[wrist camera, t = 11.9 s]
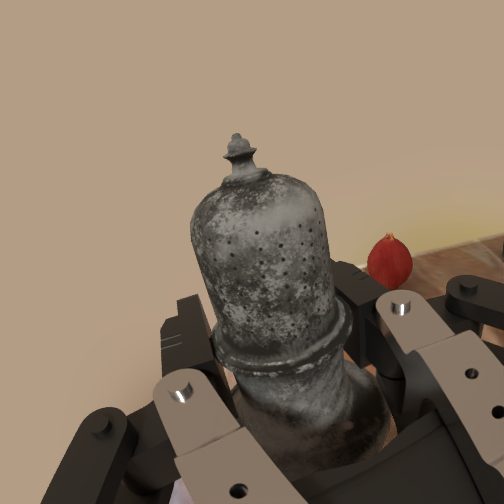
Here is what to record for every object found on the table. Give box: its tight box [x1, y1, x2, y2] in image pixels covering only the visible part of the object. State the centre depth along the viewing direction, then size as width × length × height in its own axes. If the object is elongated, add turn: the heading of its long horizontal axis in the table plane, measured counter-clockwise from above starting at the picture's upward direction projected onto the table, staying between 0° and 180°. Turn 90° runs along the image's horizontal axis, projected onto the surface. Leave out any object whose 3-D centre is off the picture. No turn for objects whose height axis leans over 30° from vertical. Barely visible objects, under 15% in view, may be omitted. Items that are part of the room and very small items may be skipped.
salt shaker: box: [190, 133, 391, 482], centre depth 8 cm, size 6×6×12 cm
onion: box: [367, 233, 413, 291], centre depth 37 cm, size 6×6×8 cm
